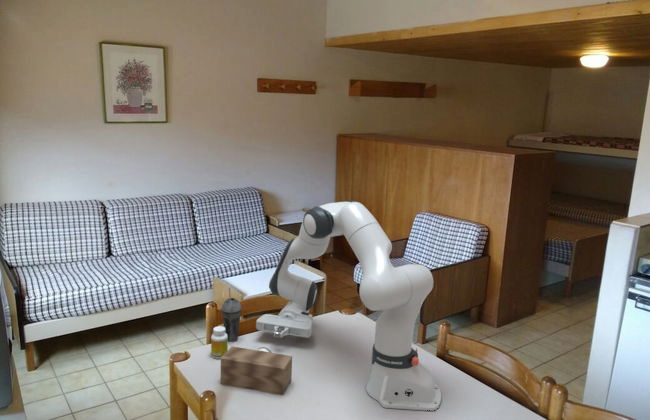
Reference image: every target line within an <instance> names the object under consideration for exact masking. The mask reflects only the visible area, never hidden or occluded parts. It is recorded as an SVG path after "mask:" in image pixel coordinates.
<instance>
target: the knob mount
mask: <svg viewBox="0 0 650 420" xmlns="http://www.w3.org/2000/svg"><path fill="white" fill-rule="evenodd" d="M292 369H293V355H288V354H281V353H277V352H276V353H275V352H272V353H270V352H264V351H258V349H252V348H251V349H250V348H245V347H244V348H243V347H239V346H234V345H233V346H230V347H229V349H228V351H227V352H226V353H225V354H224V355H223V356H222V357H221V359H220V385H225V386H230V387H236V388H240V389H242V388H243V389H248V390H253V391H258V392H263V393H269V394H275V395H280V396H284V395H285V393H286V391H287V389H288V388H289V386H290V384H291V383H292V379H293V378H292V374H293V373H292V372H293V370H292Z"/></svg>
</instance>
